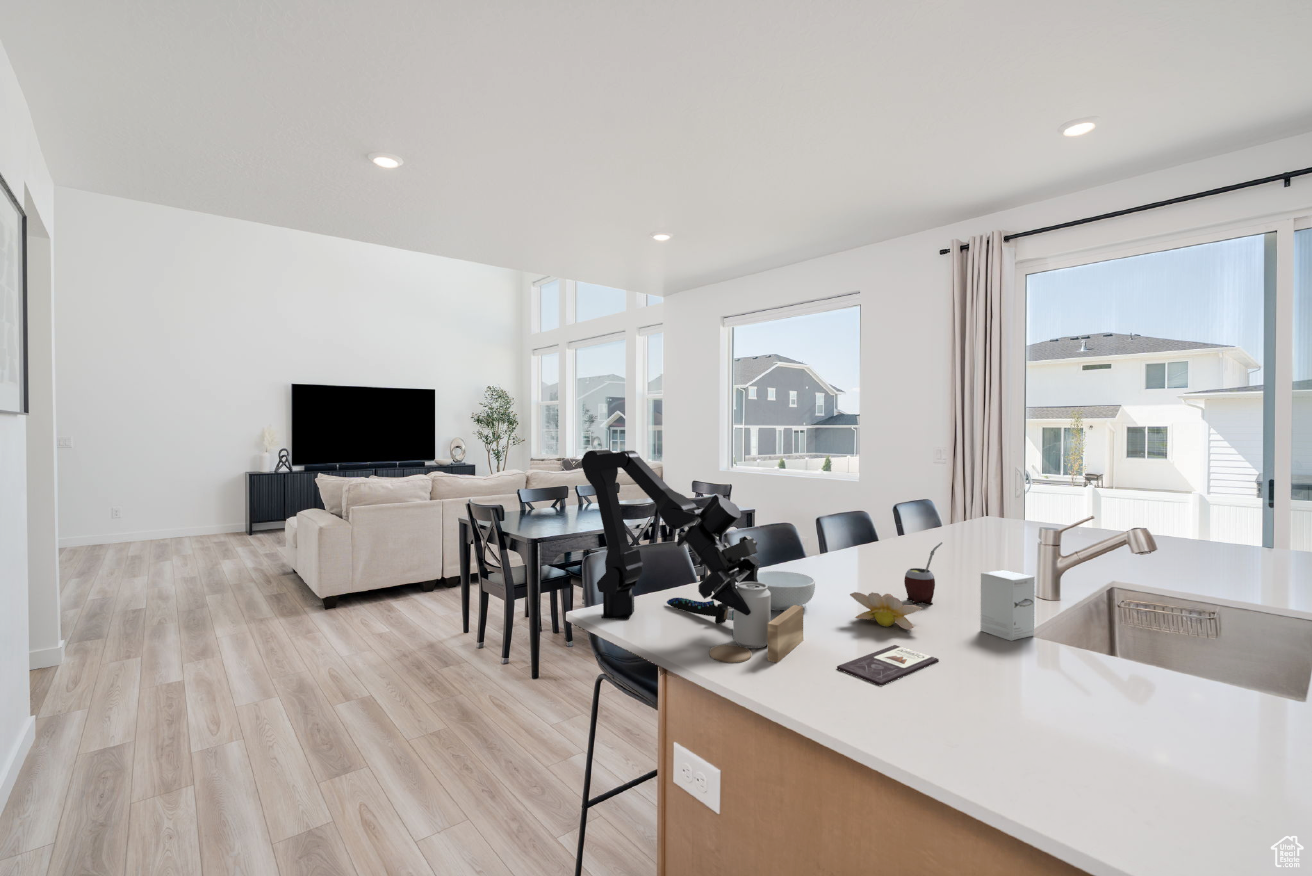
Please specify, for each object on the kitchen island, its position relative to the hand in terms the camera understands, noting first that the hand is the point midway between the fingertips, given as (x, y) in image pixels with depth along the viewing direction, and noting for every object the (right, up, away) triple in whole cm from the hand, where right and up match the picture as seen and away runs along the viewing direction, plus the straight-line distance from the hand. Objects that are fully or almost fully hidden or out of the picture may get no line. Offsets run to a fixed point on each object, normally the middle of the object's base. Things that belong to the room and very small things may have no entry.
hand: (757, 609), depth 121 cm
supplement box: (+54, -7, +6) cm, 55 cm away
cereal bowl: (+10, -7, +27) cm, 29 cm away
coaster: (-6, -7, -5) cm, 11 cm away
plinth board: (+5, -7, -3) cm, 9 cm away
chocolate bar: (+22, -8, -11) cm, 26 cm away
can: (-1, -7, +1) cm, 7 cm away
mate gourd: (+46, -7, +29) cm, 55 cm away
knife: (-8, -7, +16) cm, 20 cm away
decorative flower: (+32, -7, +12) cm, 34 cm away
